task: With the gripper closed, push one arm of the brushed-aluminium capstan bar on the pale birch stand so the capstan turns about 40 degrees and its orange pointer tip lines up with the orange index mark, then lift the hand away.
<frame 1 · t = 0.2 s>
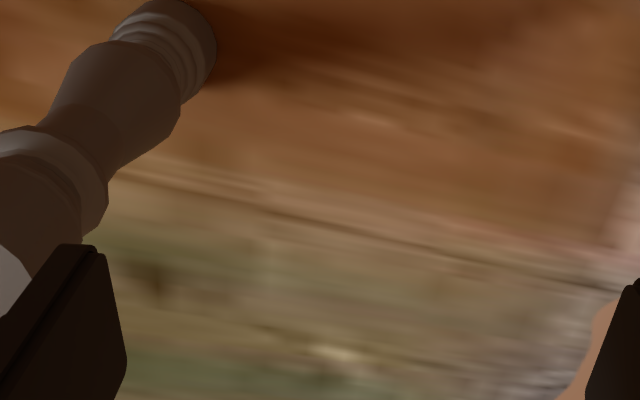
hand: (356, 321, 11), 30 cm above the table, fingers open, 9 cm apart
candle holder: (172, 44, 40), on the table
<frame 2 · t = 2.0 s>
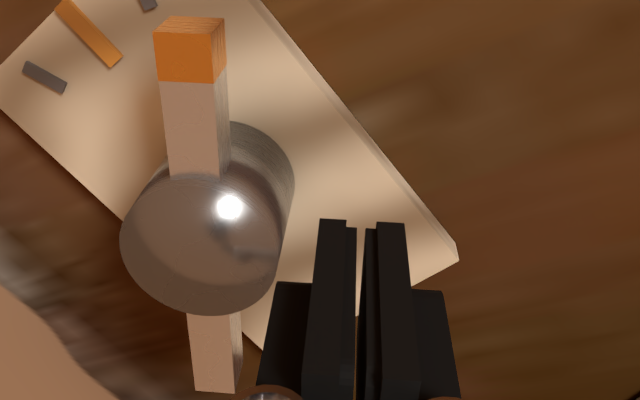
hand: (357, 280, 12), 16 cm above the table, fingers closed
capstan: (215, 212, 25), point 5 cm above the table, hinge at -40.0°
stand: (237, 163, 29), on the table
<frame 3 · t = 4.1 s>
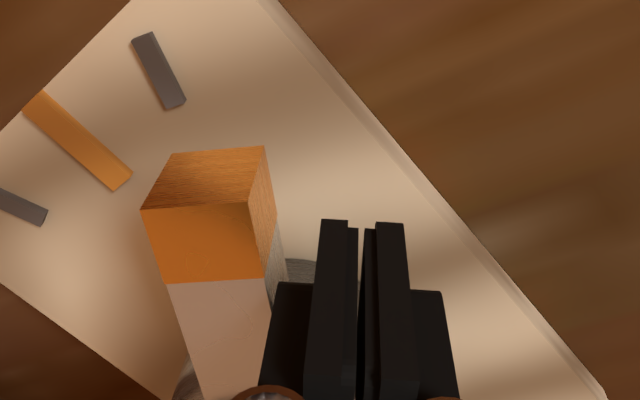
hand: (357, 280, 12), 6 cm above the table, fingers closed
stand: (298, 298, 20), on the table
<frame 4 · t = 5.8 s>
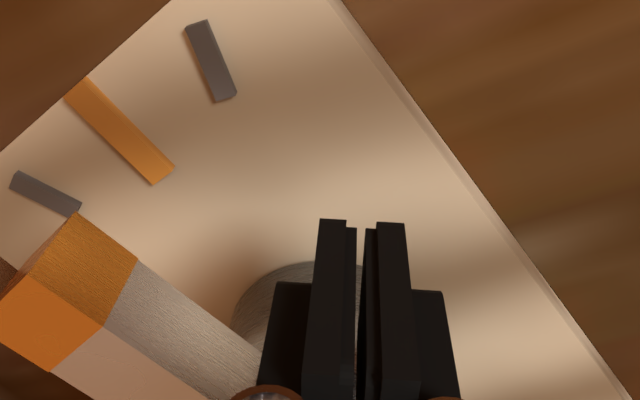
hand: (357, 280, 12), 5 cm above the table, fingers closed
stand: (331, 301, 19), on the table
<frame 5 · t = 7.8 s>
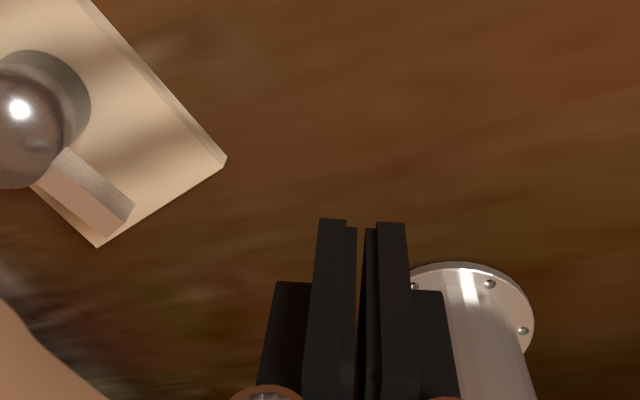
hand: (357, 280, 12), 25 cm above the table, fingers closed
capstan: (17, 116, 34), point 5 cm above the table, hinge at 6.2°
stand: (54, 87, 37), on the table
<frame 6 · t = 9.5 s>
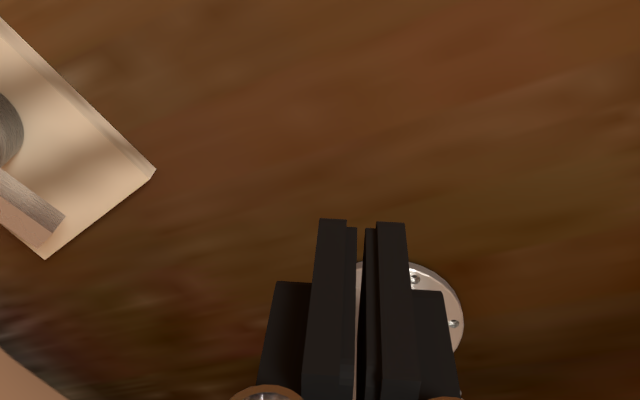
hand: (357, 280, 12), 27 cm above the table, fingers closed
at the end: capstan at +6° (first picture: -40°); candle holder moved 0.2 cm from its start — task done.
